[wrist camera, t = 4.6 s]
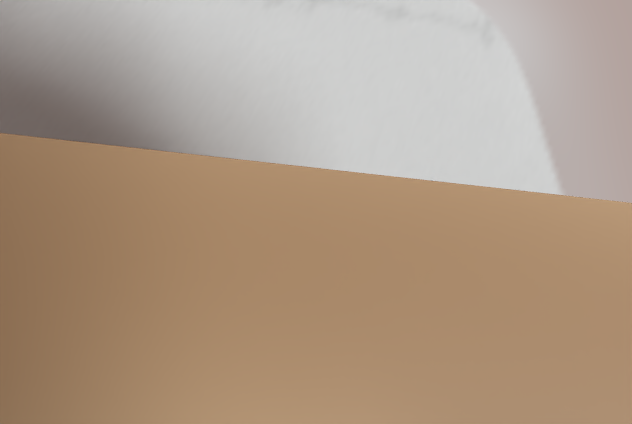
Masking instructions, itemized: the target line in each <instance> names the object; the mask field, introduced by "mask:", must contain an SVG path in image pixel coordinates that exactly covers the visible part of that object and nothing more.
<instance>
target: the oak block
mask: <svg viewBox="0 0 632 424" xmlns="http://www.w3.org/2000/svg"><path fill="white" fill-rule="evenodd" d="M0 424H632V203H626V202H618V201H609V200H599V199H591V198H582V197H573V196H564V195H555V194H546V193H537V192H528V191H519V190H510V189H501V188H492V187H483V186H474V185H465V184H456V183H447V182H438V181H429V180H420V179H411V178H402V177H393V176H384V175H375V174H366V173H357V172H348V171H339V170H330V169H321V168H312V167H303V166H294V165H285V164H276V163H267V162H258V161H249V160H239V159H230V158H221V157H212V156H203V155H194V154H185V153H176V152H167V151H158V150H149V149H140V148H131V147H122V146H113V145H104V144H95V143H86V142H77V141H68V140H59V139H50V138H41V137H32V136H23V135H14V134H5V133H0Z"/></svg>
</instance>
